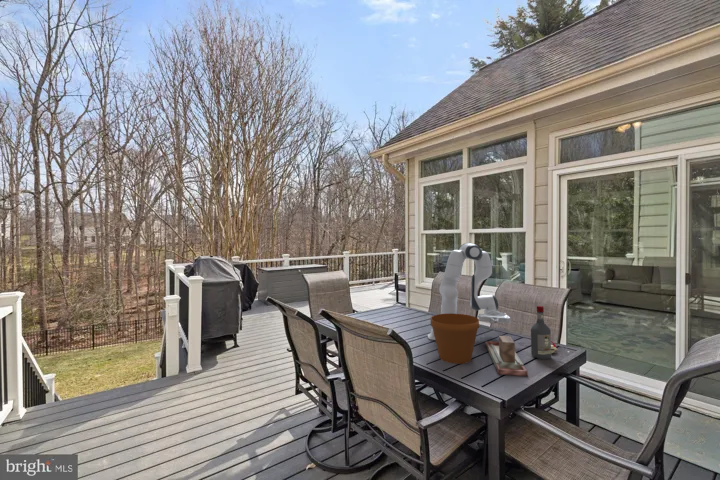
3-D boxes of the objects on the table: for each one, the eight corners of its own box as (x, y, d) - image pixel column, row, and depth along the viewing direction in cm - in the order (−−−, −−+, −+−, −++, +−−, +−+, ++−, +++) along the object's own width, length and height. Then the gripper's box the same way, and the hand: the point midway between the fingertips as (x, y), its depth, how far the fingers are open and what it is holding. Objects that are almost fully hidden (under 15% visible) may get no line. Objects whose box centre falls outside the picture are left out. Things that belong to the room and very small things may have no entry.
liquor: (529, 354, 202) (528, 305, 202) (541, 353, 204) (540, 304, 204) (540, 360, 193) (539, 308, 193) (553, 358, 195) (552, 307, 195)
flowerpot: (465, 348, 216) (464, 312, 216) (489, 364, 189) (488, 323, 189) (424, 351, 212) (423, 315, 211) (443, 368, 184) (442, 326, 184)
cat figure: (534, 343, 226) (541, 353, 202) (533, 330, 227) (540, 338, 203) (550, 344, 223) (560, 354, 199) (550, 331, 224) (559, 339, 200)
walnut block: (503, 362, 184) (502, 342, 184) (499, 354, 196) (498, 335, 196) (515, 362, 183) (514, 342, 182) (510, 354, 194) (509, 336, 194)
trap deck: (498, 374, 175) (498, 366, 175) (485, 344, 222) (485, 339, 222) (527, 376, 172) (527, 368, 172) (508, 346, 219) (508, 339, 219)
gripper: (476, 310, 234) (479, 315, 221) (508, 313, 229) (512, 317, 216) (476, 319, 234) (479, 324, 221) (507, 322, 229) (512, 327, 216)
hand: (495, 321), depth 218 cm, fingers closed
